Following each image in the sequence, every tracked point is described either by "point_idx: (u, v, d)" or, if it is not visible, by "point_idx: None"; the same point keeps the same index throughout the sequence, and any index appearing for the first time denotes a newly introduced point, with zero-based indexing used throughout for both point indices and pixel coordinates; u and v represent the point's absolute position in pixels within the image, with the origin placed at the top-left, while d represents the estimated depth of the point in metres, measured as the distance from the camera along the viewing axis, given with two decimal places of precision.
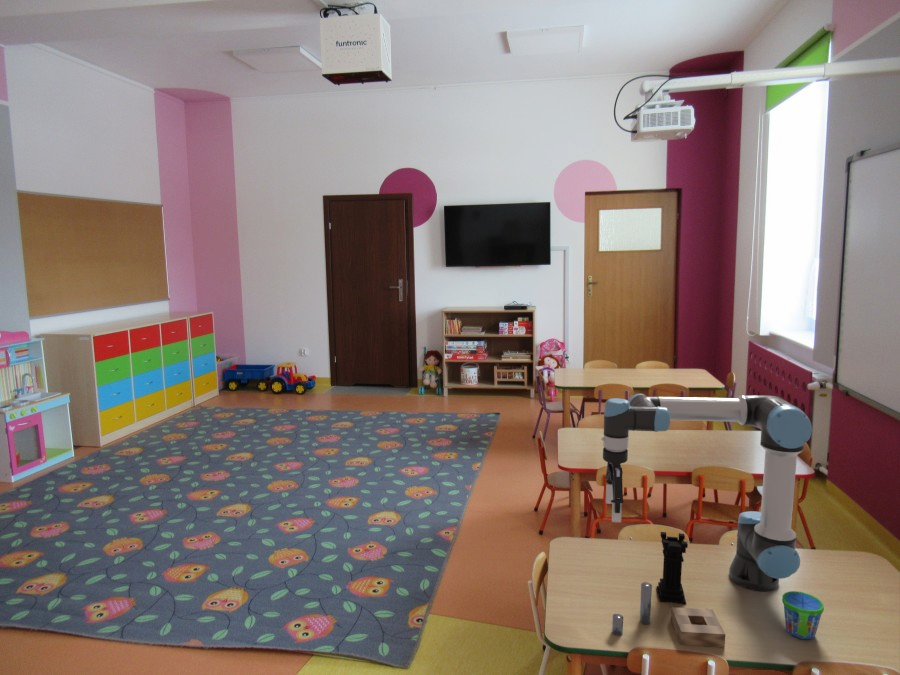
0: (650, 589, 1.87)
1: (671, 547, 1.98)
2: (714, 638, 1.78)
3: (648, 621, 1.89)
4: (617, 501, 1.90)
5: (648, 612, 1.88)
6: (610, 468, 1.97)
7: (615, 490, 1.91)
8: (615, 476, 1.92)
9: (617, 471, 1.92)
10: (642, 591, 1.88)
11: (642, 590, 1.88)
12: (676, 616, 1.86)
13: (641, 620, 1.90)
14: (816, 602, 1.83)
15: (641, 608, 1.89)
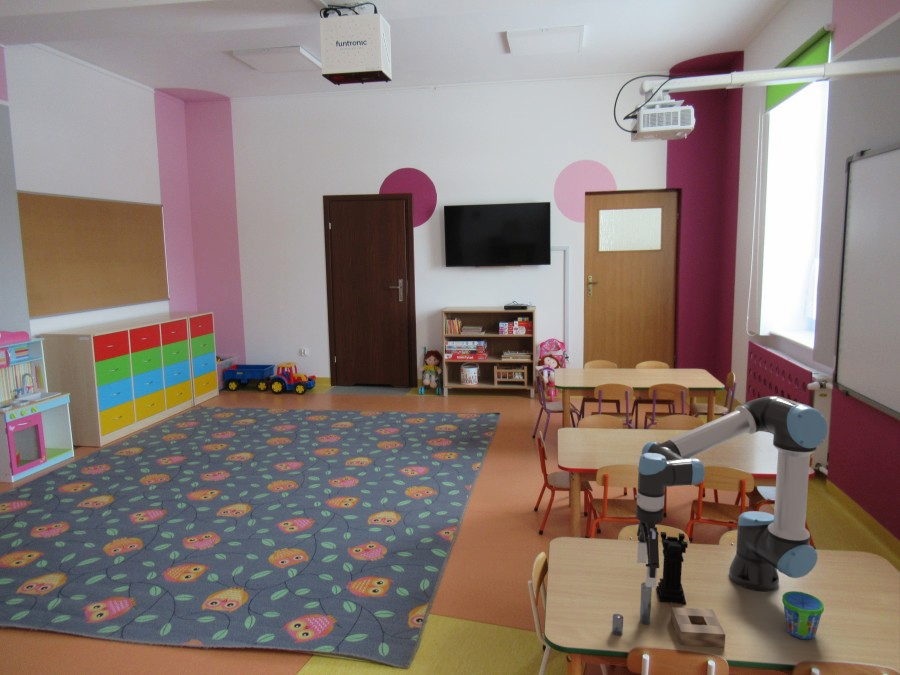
0: (650, 589, 1.87)
1: (671, 547, 1.98)
2: (714, 638, 1.78)
3: (648, 621, 1.89)
4: (653, 566, 1.77)
5: (648, 612, 1.88)
6: (644, 528, 1.84)
7: (650, 554, 1.78)
8: (650, 538, 1.79)
9: (653, 533, 1.79)
10: (642, 591, 1.88)
11: (642, 590, 1.88)
12: (676, 616, 1.86)
13: (641, 620, 1.90)
14: (816, 602, 1.83)
15: (641, 608, 1.89)
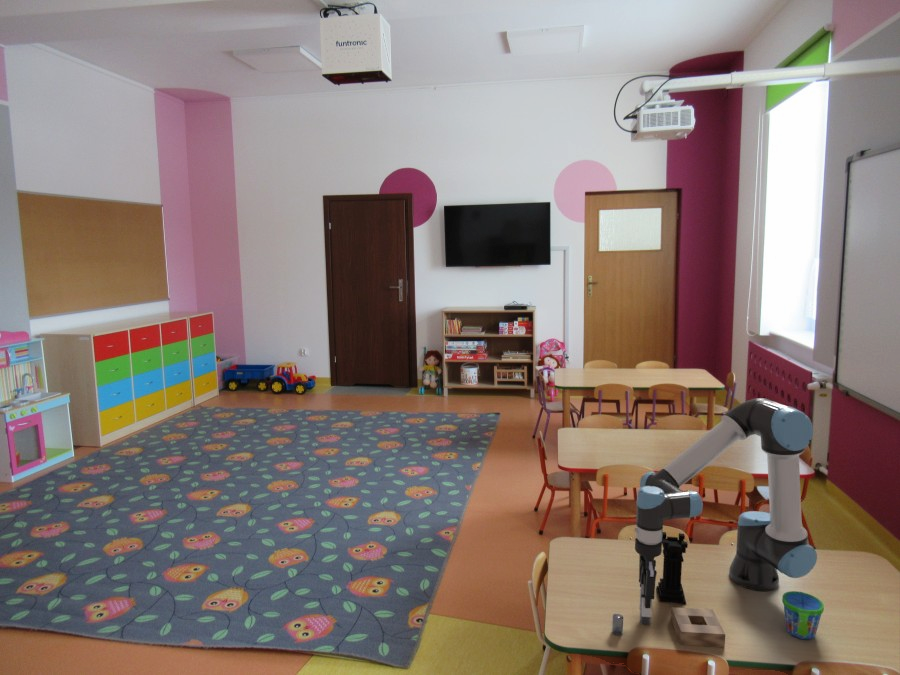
0: None
1: (671, 547, 1.98)
2: (714, 638, 1.78)
3: (648, 621, 1.89)
4: (648, 597, 1.84)
5: None
6: (643, 562, 1.85)
7: (647, 588, 1.83)
8: (648, 576, 1.82)
9: (651, 573, 1.81)
10: (642, 591, 1.88)
11: (642, 591, 1.88)
12: (676, 616, 1.86)
13: (641, 620, 1.89)
14: (816, 602, 1.83)
15: (641, 608, 1.89)
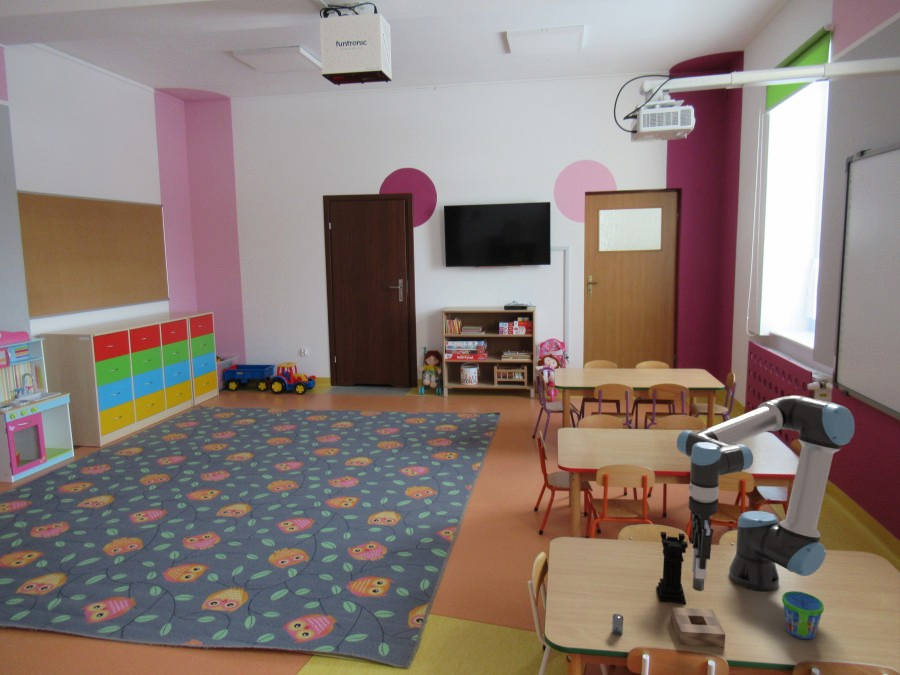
0: None
1: (671, 547, 1.98)
2: (714, 638, 1.78)
3: (702, 587, 1.81)
4: (703, 557, 1.76)
5: None
6: (698, 521, 1.78)
7: (702, 548, 1.75)
8: (704, 535, 1.74)
9: (707, 531, 1.73)
10: None
11: None
12: (676, 616, 1.86)
13: (694, 586, 1.82)
14: (816, 602, 1.83)
15: (694, 573, 1.82)
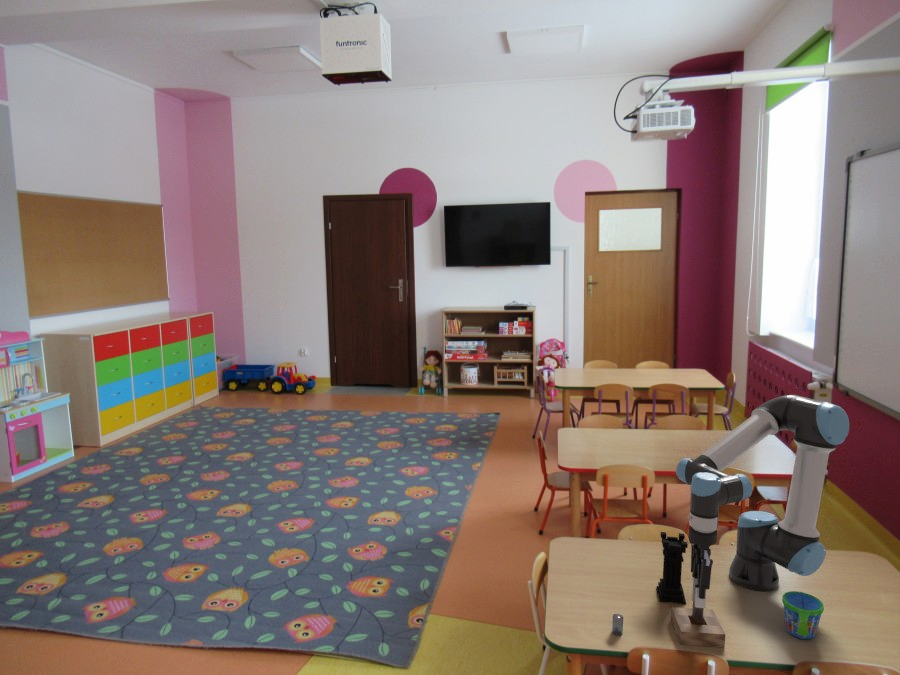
0: None
1: (671, 547, 1.98)
2: (714, 638, 1.78)
3: (701, 616, 1.83)
4: (703, 587, 1.77)
5: None
6: (697, 551, 1.79)
7: (702, 578, 1.77)
8: (704, 566, 1.75)
9: (707, 562, 1.75)
10: None
11: None
12: (676, 616, 1.86)
13: (694, 615, 1.83)
14: (816, 602, 1.83)
15: (694, 603, 1.83)
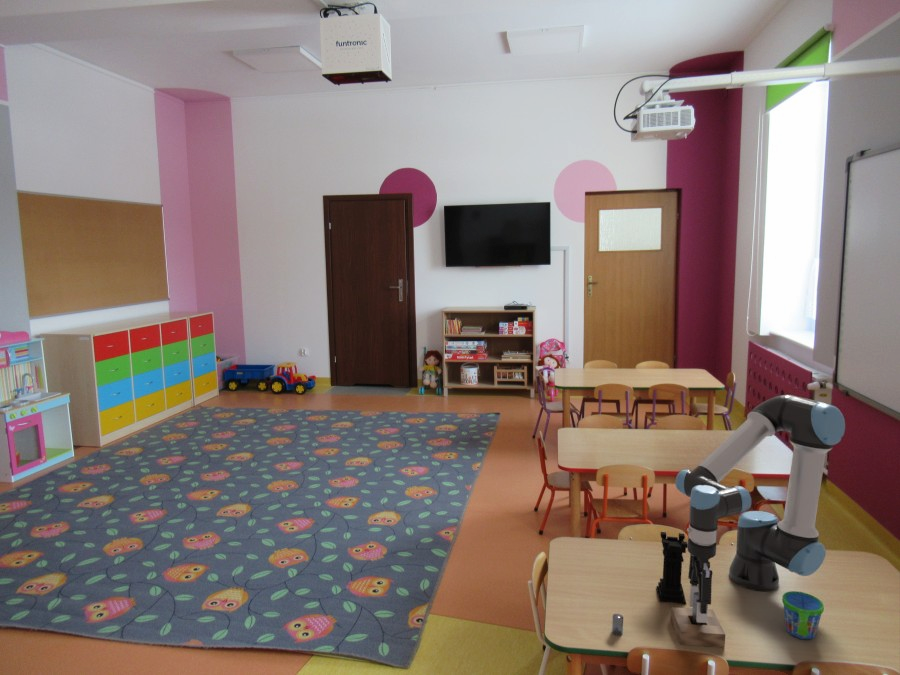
0: None
1: (671, 547, 1.98)
2: (714, 638, 1.78)
3: None
4: (704, 602, 1.76)
5: (701, 623, 1.83)
6: (697, 563, 1.80)
7: (703, 591, 1.76)
8: (704, 577, 1.75)
9: (707, 573, 1.75)
10: (694, 601, 1.83)
11: (695, 600, 1.83)
12: (676, 616, 1.86)
13: None
14: (816, 602, 1.83)
15: (693, 619, 1.84)
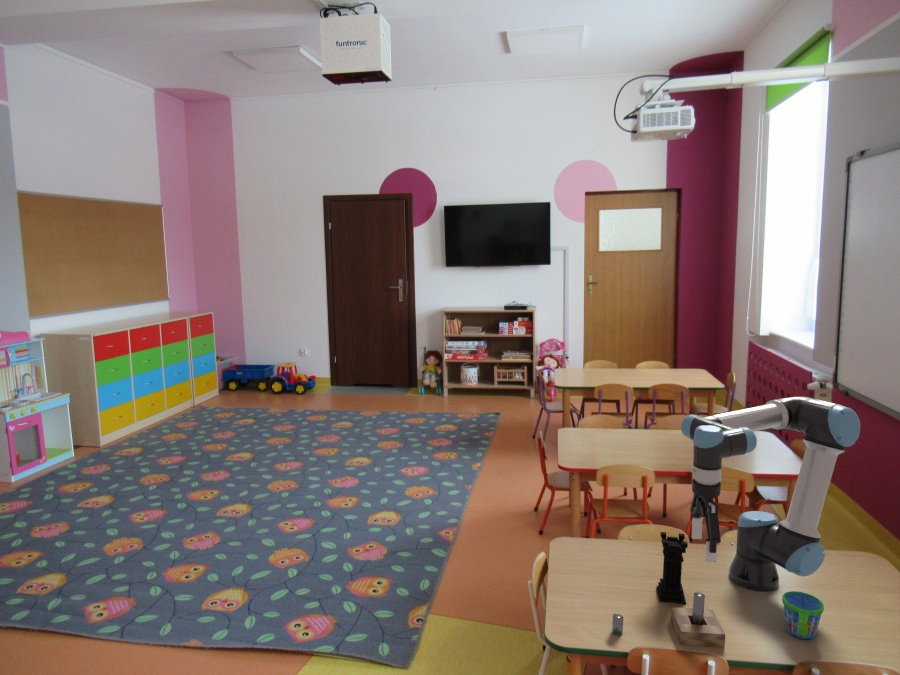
0: (703, 599, 1.82)
1: (671, 547, 1.98)
2: (714, 638, 1.78)
3: None
4: (714, 540, 1.72)
5: (701, 623, 1.83)
6: (701, 502, 1.79)
7: (711, 528, 1.73)
8: (710, 512, 1.74)
9: (712, 507, 1.74)
10: (695, 601, 1.83)
11: (695, 601, 1.83)
12: (676, 616, 1.86)
13: None
14: (816, 602, 1.83)
15: (693, 619, 1.84)
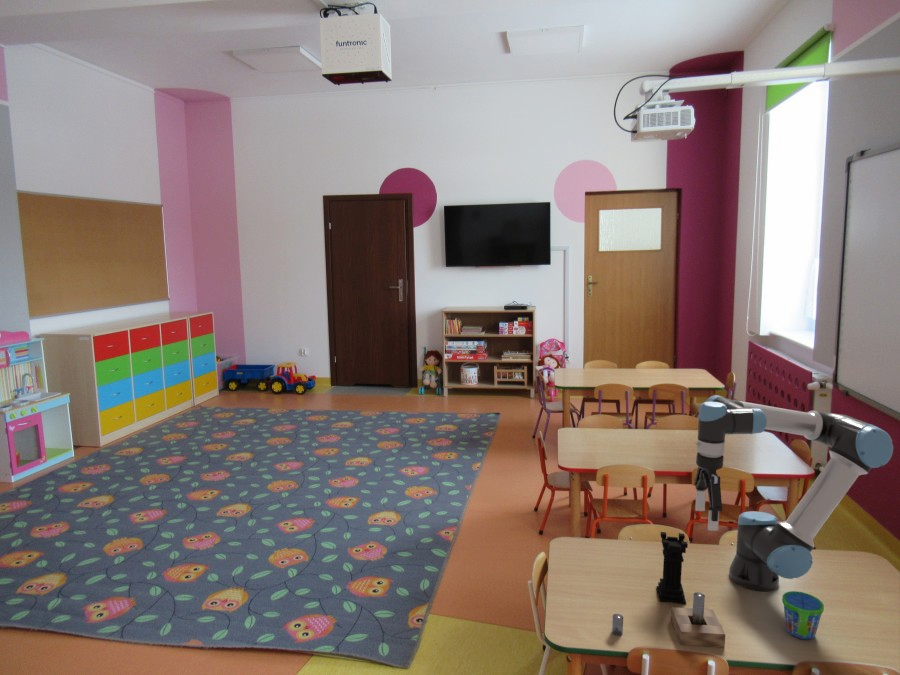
0: (703, 599, 1.82)
1: (671, 547, 1.98)
2: (714, 638, 1.78)
3: None
4: (716, 509, 1.83)
5: (701, 623, 1.83)
6: (705, 474, 1.90)
7: (713, 497, 1.84)
8: (713, 483, 1.85)
9: (715, 478, 1.85)
10: (695, 601, 1.83)
11: (695, 601, 1.83)
12: (676, 616, 1.86)
13: None
14: (816, 602, 1.83)
15: (693, 619, 1.84)
